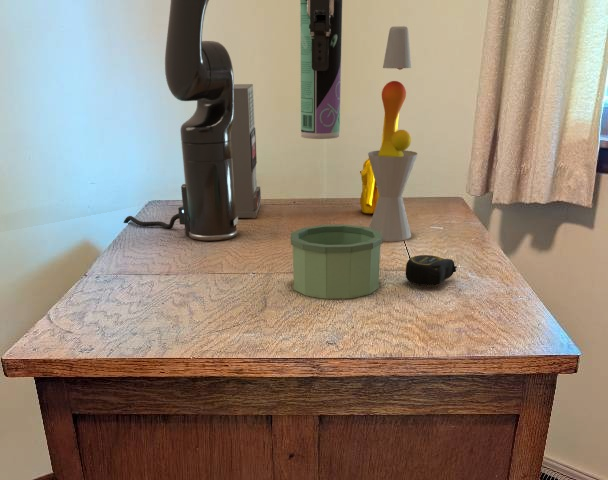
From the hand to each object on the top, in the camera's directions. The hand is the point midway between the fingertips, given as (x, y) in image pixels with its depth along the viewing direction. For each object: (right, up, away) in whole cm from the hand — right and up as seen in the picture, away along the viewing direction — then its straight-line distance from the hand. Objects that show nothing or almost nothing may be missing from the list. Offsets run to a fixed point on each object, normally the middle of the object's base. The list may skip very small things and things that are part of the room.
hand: (320, 68), depth 97 cm
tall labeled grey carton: (-15, +1, +62) cm, 64 cm away
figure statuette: (+14, +1, +60) cm, 62 cm away
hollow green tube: (+3, -26, +15) cm, 30 cm away
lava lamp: (+14, -10, +42) cm, 45 cm away
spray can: (0, -7, +4) cm, 9 cm away
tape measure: (+18, -26, +15) cm, 35 cm away
